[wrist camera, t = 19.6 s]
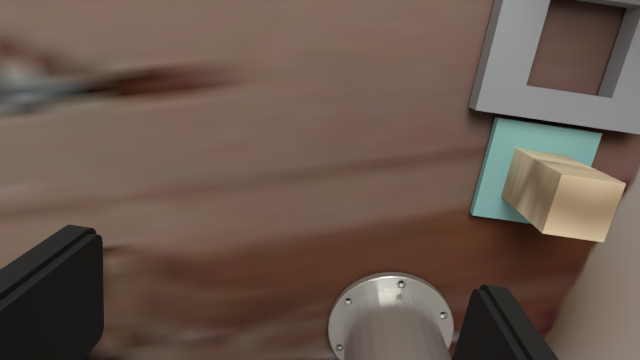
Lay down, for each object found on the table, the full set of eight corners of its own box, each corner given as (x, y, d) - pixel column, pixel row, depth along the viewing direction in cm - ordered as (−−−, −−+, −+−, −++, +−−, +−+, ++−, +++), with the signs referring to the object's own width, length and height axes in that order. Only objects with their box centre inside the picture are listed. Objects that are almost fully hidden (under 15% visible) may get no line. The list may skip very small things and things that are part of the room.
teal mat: (564, 225, 40) (569, 229, 39) (469, 212, 40) (472, 215, 39) (597, 131, 37) (602, 133, 36) (495, 116, 37) (498, 118, 36)
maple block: (550, 203, 38) (603, 242, 31) (501, 196, 38) (542, 233, 31) (566, 155, 37) (626, 183, 29) (515, 147, 37) (561, 174, 29)
